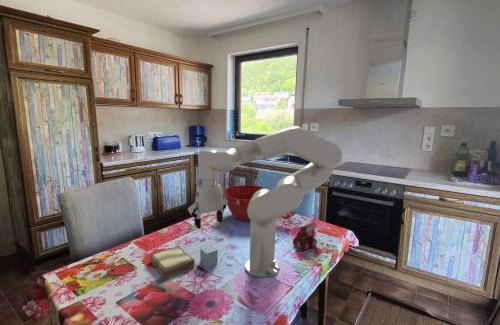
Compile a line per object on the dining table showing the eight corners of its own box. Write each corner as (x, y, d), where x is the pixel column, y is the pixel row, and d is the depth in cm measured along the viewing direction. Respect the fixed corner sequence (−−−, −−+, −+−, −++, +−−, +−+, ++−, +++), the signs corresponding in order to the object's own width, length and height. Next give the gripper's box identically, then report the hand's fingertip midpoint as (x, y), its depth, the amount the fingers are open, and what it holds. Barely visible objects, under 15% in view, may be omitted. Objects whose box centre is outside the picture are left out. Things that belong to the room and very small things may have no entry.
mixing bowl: (267, 228, 139) (268, 200, 136) (216, 223, 145) (216, 196, 142) (273, 210, 166) (274, 187, 164) (230, 206, 172) (230, 183, 169)
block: (217, 263, 105) (217, 249, 104) (206, 268, 102) (206, 253, 101) (210, 258, 109) (210, 244, 108) (200, 262, 106) (200, 248, 105)
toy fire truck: (289, 247, 120) (290, 225, 118) (307, 239, 128) (308, 219, 126) (301, 253, 115) (302, 231, 113) (318, 245, 122) (320, 224, 121)
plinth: (194, 266, 103) (194, 259, 102) (164, 278, 95) (164, 270, 94) (178, 252, 113) (178, 245, 112) (150, 261, 105) (150, 254, 105)
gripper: (192, 187, 92) (193, 233, 95) (232, 180, 103) (232, 222, 106) (183, 183, 98) (184, 226, 100) (222, 177, 108) (222, 216, 111)
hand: (209, 224), depth 103 cm, fingers open, 9 cm apart
